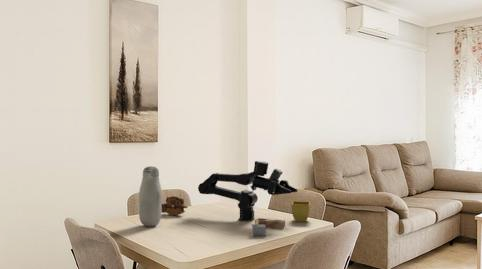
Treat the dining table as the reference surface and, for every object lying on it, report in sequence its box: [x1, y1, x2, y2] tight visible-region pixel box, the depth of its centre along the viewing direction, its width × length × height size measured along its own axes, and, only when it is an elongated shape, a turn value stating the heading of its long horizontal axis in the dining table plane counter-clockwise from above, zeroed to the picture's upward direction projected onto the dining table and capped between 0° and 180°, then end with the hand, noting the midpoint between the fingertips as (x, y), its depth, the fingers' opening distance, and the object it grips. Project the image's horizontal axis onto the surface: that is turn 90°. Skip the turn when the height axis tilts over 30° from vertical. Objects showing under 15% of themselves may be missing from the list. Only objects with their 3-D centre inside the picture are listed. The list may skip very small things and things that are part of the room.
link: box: [255, 217, 286, 230], centre depth 191 cm, size 13×5×3 cm, turn 67°
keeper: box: [251, 224, 267, 238], centre depth 175 cm, size 4×6×4 cm
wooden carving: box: [161, 195, 189, 216], centre depth 217 cm, size 16×5×10 cm, turn 72°
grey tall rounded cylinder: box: [138, 165, 163, 227], centre depth 192 cm, size 10×10×28 cm
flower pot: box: [291, 200, 311, 223], centre depth 204 cm, size 9×9×9 cm
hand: (294, 191), depth 195 cm, fingers open, 9 cm apart
